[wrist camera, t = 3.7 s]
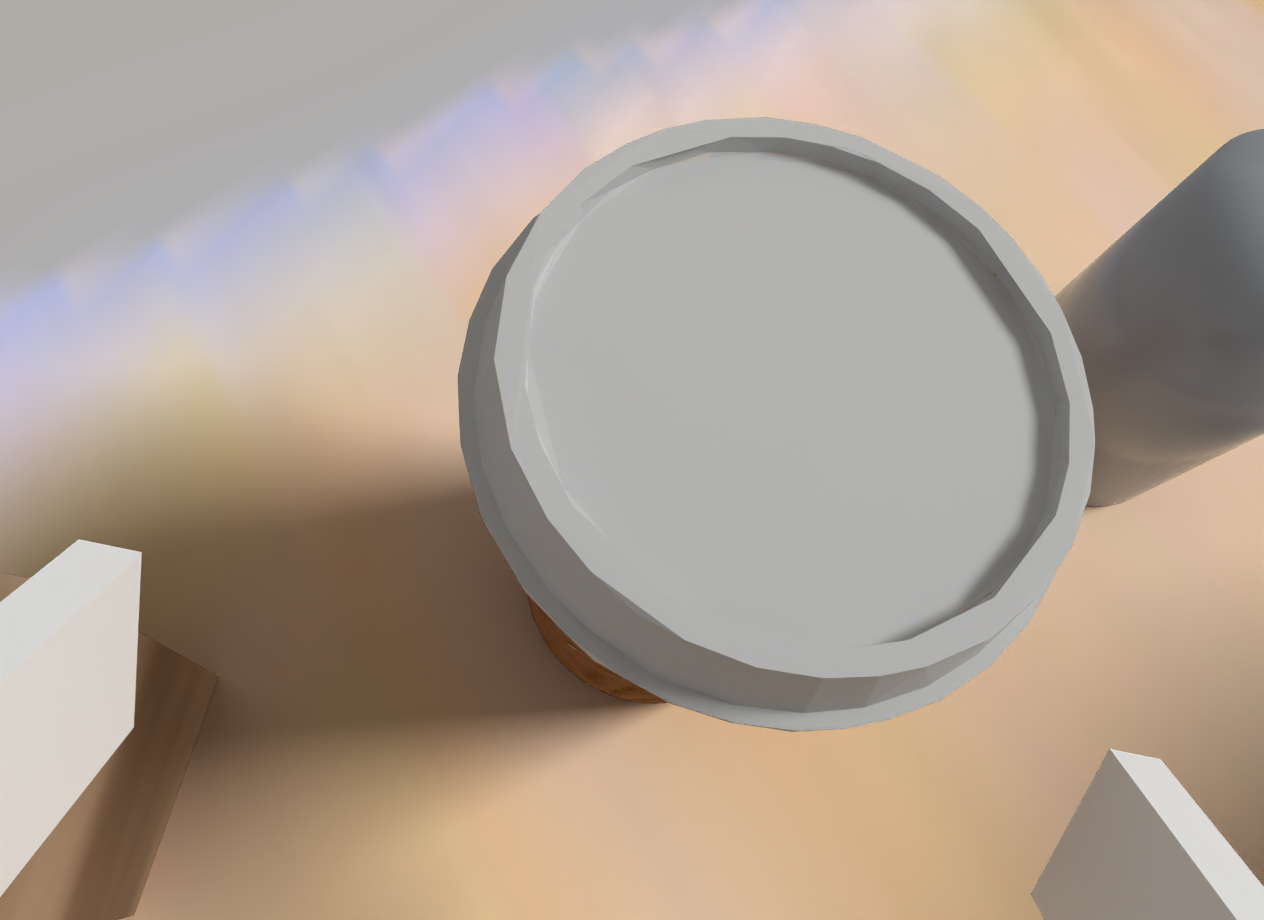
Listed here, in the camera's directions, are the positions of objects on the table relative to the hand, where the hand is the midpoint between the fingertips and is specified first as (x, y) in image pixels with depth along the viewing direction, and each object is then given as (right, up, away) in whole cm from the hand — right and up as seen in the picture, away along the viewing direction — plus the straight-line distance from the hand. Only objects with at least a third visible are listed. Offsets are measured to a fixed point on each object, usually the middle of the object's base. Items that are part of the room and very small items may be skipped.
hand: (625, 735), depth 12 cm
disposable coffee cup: (+1, +1, +11) cm, 11 cm away
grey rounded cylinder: (+14, +5, +15) cm, 21 cm away
